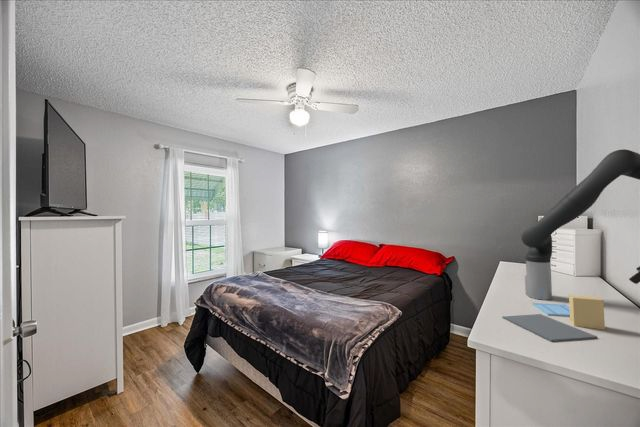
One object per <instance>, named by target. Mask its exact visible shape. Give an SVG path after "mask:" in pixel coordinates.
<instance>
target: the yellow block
mask: <svg viewBox="0 0 640 427" xmlns="http://www.w3.org/2000/svg"><path fill="white" fill-rule="evenodd" d="M568 304H569V305H568V306H569V308H570V317H569V322H570V323H571V325H573V327H581V328H589V329H595V330H596V329H599V330H606V326H605V325H606V322H605V305H604V304H605V303H604V299H602V298H600V297H597V296H587V295H586V296H584V295H572V294H571V295H570V294H569V295H568Z"/></svg>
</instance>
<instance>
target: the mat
mask: <svg viewBox="0 0 640 427" xmlns="http://www.w3.org/2000/svg"><path fill="white" fill-rule="evenodd" d="M501 318H502V319H503V318H504V320H505V319H506V320H505V321H507V320H508V322H509V321H510V323H512V324H513V325H516V326H517V327H520V328H522V329H524V330H525V331H528V332H530V333H532V334H534V335H537V336H538V337H541V338H542V339H543V340H544V339H545V340H546V341H547V342H564V341H565V342H567V341H581V340H595V339H598V336H597V335H594V334H592V333H589V332H587V331H584V330H582V329H579V328H577V327H575V326H572V325H569V324H568V323H564V322H563V321H559V320H556V319H554V318H551V317H549V316H548V315H544V314H541V313H538V314H534V313H533V314H520V315H505V316H504V315H503V316H502V317H501Z"/></svg>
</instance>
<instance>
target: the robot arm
mask: <svg viewBox="0 0 640 427" xmlns="http://www.w3.org/2000/svg"><path fill="white" fill-rule="evenodd" d="M621 176H626V177H629V178H633V179H635V180H639V181H640V153H639V152H635V151H633V150H630V149H618V150H614V151H612V152H609V153H608V154H607V155H606V156H605V157H604V158H603V159H602V160H601V161H600V162H599V163H598V164H597V165H596V167H595V168H594V169H593V170H592V171H591V172H590V173H589V174H588V175H587V176H586V177H585V178H584V179H583V180H582V181H581V182H579V183H578V184H577V185H576V186H575V187H573V189H571V190H570V191H569V192H567V193H566V194H565V195H564V196H563V197H562V198H561V199H560V200H559V201H558V202H557V203H556V204H555V205H554V206H553V207H552V208H551V209H550V210H549V211H547V213H546V214H545V215H544V216H543V217H542V218H540V219H539V220H538V221H537V222H536V223H534V224H532V225H531V226H530V227H528V228H527V229H526V230H524V232H523V233H522V234H521V242H522V244H524V246H526V247H528V252H526V254H525V270H526V274H525V275H524V287H525V288H524V290H525V295H526V296H527V297H529V298H531V299H537V300H544V301H545V300H546V301H548V300H549V301H550V300H552V299H553V291H552V290H553V288H552V287H553V286H552V285H553V284H552V264H551V260H552V259H551V258H552V256H553V237H552V234H554V233H555V231H557V230H558V229H561V227H563V226H565V225H567V224H569V223H570V222H572V221H574V220H576V219H577V218H578V217H580V216H582V214H583V215H584V213H585V212H587V211H588V210H589V209H590V208H591V207H592V206H593V205H594V204H595V203H596V202H597V200H598V199H599V197H600V196H601V194H602V193H603V191H604V190H605V188H606V187H608V186H609V185H610V184H611V183H612V182H614V181H616V180H617V179H618V178H619V177H621ZM636 271H637V273H635V274H633V275H632V276H630V277H629V278H628V279H629V281H630V282H632V283H633V284H634V285H638V284H639V283H640V265H639V266H638V267H636Z"/></svg>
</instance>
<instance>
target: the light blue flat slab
mask: <svg viewBox="0 0 640 427" xmlns="http://www.w3.org/2000/svg"><path fill="white" fill-rule="evenodd" d="M531 305H532V306H533V307H535V309H538V310H540V311H541V312H542V313H544V314H545V315H546V316H548V317H549V316H550V317H551V316H554V317H565V318H566V317H568V318H570V308H569V305H566V304H558V303H557V304H556V303H543V302H542V303H538V302H537V303H536V302H532V303H531Z"/></svg>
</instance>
